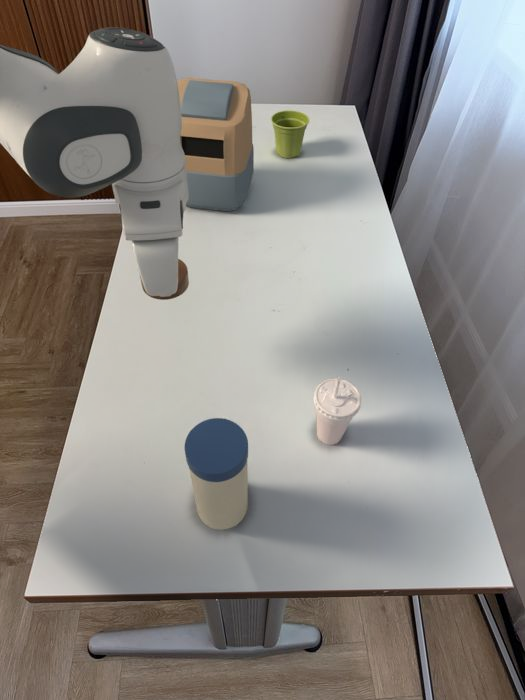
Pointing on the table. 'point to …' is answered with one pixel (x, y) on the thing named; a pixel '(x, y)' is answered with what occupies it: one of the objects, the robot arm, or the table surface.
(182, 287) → the brown lid
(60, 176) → the robot arm
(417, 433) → the table surface
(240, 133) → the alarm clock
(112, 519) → the table surface
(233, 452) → the bottle
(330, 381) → the smoothie
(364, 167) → the table surface
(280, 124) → the plant pot
